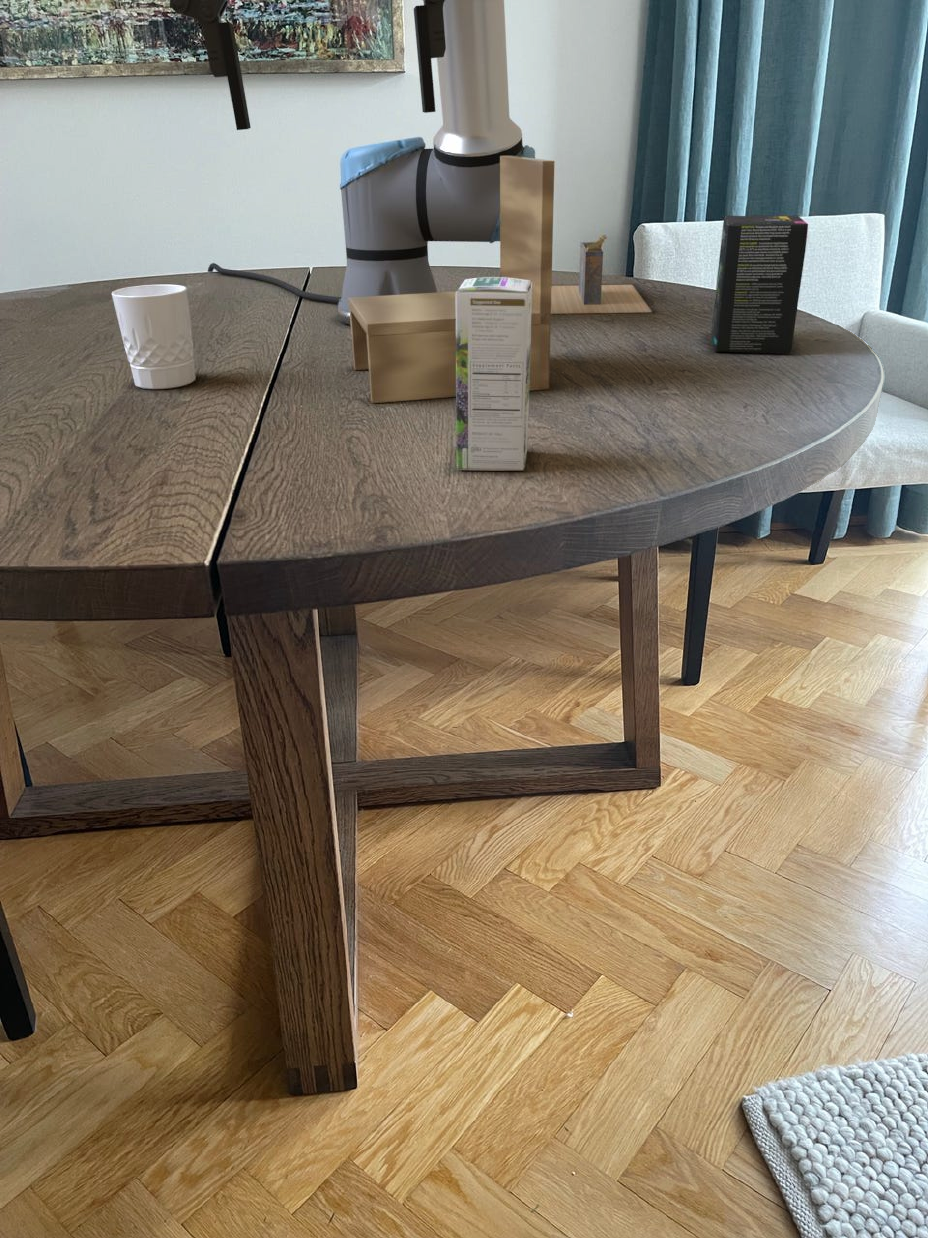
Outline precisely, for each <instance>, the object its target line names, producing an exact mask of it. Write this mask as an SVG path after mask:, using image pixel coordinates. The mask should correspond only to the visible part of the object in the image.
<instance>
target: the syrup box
mask: <svg viewBox="0 0 928 1238" xmlns="http://www.w3.org/2000/svg"><path fill="white" fill-rule="evenodd" d="M456 291H457V292H456V397H455V416H456V417H455V420H456V421H455V422H456V423H455V424H456V428H455V429H456V469H457V470H459V471H499V472H501V471H524V470H525V467H526V461H527V452H528V446H529V420H530V391H529V387H530V353H531V310H532V282H531V281H530V280H524V279H516V278H507V277H500V276H483V277H482V276H481V277H472V278H465V279H464V281H463V282H462V284H461V285H460V286H459V287H458V289H457V290H456Z"/></svg>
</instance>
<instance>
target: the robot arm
mask: <svg viewBox="0 0 928 1238" xmlns="http://www.w3.org/2000/svg"><path fill="white" fill-rule="evenodd" d="M422 1H423V4H422V5H421V4H420V5H415V6H414V7H413V18H414V20H413V21H414V30H415V31H414V32H415V40H416V41H415V42H416V52H417V53H416V54H417V64H418V77H419V86H420V87H419V89H420V99H421V108H422V113H424V114H427V113H436V100H435V87H434V76H433V65H432V59H436V63H437V73H438V84H439V97H440V104H441V116H442V125H441V127H440V128H439V129H438V131H437V132H436V133H435V134H434V136H433V139H432V140H433V141H432V142H433V143H432V144H433V148H426V142H425V140H424V138H423V137H422V136H415V137H409V138H408V137H407V138H403V139H402V138H401V139H397V140H390V141H383V142H377V143H372V144H367V145H361V146H355V147H351V148H348V149H346V150H345V151H344V152H343V153H342V155H341V158H340V164H339V165H340V167H339V168H340V184H339V189H340V192H341V206H342V218H343V229H344V230H343V231H344V242H345V253H346V255H345V256H346V268H345V273H344V279H343V285H342V291H341V296H332V295H325V294H317V293H313V292H308V291H304V290H302V289H300V288H298V287H296V286H294V285H293V284H290V283H288V282H286V281H283V280H281V279H278V278H276V277H272V276H269V275H265V274H261V273H255V272H249V271H244V270H237V269H228V268H223V267H221V266H220V265H219V264H217V263H215V262H211V263H210V264H209V266H208V268H207V272H209V273H213V272H214V270H215V271H216V272H218V273H219V274H223V275H227V276H234V277H242V278H249V279H253V280H258V281H262V282H267V283H270V284H274V285H276V286H279V287H281V288H283V289H285V290H287V291H289V292H291V293H294V294H295V295H297V296H298V297H301V298H304V299H308V300H312V301H317V302H323V303H331V304H337V317H338V320H339V322H341V323H342V324H345V325H349V326H351V324H350V311H349V309H350V308H349V298H353V297H370V296H387V295H404V294H420V293H437V292H438V290H437V286H436V283H435V279H434V274H433V272H432V269H431V266H430V261H429V248H428V247H429V246H428V245H429V242H449V243H451V242H453V243H456V242H457V243H459V242H460V243H462V242H463V243H489V244H493V243H494V242H500V156H518V157H526V158H534V159H536V149H535V148H534V147H533V146H529V145H528V144H527V145H523V132H522V128H521V127H520V125H518V124H517V123H516V122H514V121H513V119H511V116H510V98H509V97H510V96H509V80H508V79H509V78H508V59H507V58H508V57H507V56H508V55H507V54H508V53H507V35H506V33H507V32H506V13H505V0H422ZM230 2H231V0H169V4H170V7H171V9H172V11H173V12H175V13H177V14H178V15H181V16H184V17H186V18H187V17H188V18H190V19H194V20H196V21H197V22H198V23H199V24H200V26H201V28H202V33H203V37H204V44H205V49H206V53H207V54H206V55H207V59H208V65H209V70H210V72H211V73H212V75H213V78H227V82H228V89H229V95H230V100H231V104H232V105H231V106H232V110H233V116H234V122H235V127H236V131H243V130H249V129H251V122H250V115H249V110H248V103H247V98H246V97H247V96H246V92H245V88H244V87H245V86H244V80H243V75H242V70H241V69H242V68H241V63H240V58H239V51H238V46H237V40H236V34H235V28H234V24H233V23H231V22H230V21H223V22H222V17H223V16H224V13H225V11H226V10H227V7H228V6H229V4H230Z"/></svg>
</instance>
